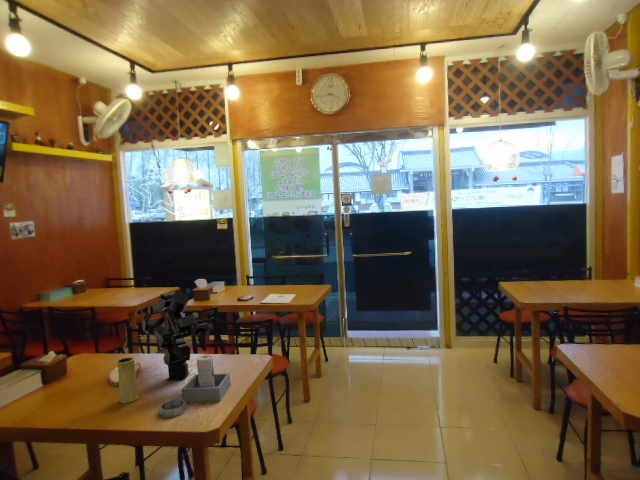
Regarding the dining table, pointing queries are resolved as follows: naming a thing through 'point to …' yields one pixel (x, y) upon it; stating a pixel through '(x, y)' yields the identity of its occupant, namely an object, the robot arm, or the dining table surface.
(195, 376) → the bin
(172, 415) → the metal collar
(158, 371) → the dining table surface
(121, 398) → the vase
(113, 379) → the bread slice
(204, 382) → the energy drink
